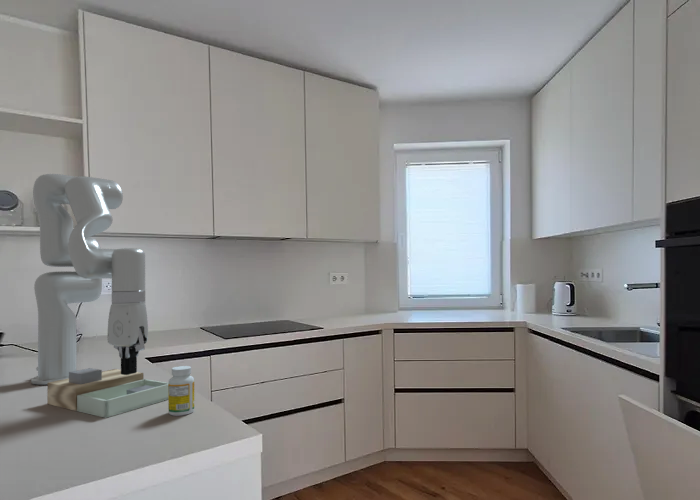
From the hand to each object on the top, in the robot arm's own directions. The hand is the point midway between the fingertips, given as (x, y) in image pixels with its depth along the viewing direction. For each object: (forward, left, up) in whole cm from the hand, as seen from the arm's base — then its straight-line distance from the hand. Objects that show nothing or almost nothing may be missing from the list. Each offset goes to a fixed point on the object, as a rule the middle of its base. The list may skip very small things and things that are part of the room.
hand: (128, 373), depth 113 cm
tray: (+5, -4, -6) cm, 8 cm away
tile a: (+6, 0, -3) cm, 7 cm away
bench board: (-7, -4, -6) cm, 10 cm away
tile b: (-6, -7, -1) cm, 10 cm away
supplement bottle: (+22, -2, -6) cm, 23 cm away
